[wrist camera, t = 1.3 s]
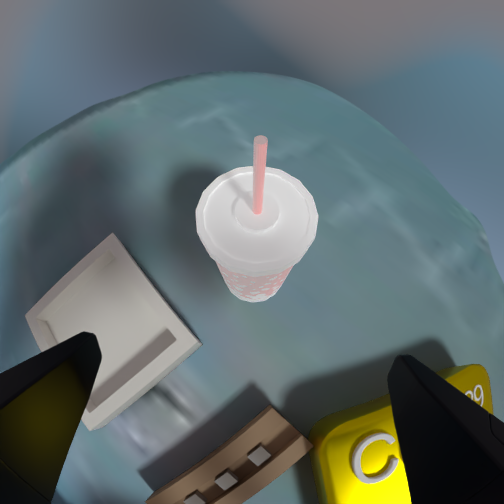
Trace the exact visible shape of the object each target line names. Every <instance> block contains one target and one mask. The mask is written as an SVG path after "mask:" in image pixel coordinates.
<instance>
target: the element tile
mask: <svg viewBox="0 0 504 504" xmlns="http://www.w3.org/2000/svg"><path fill="white" fill-rule="evenodd" d="M436 374H438V375H439V376H440V377H442V378H443V379H445V380H446V381H447V382H449V383H450V384H451V385H453V386H454V387H456V388H457V389H458V390H460V391H461V392H462V393H464V394H465V395H467V396H468V397H469V398H471V399H472V400H473V401H475V402H476V403H477V404H479V405H480V406H481V407H483V408H484V409H486V410H487V411H488V412H489V413H491V414H492V415H493V404H492V395H491V387H490V380H489V376H488V373H487V371H486V369H485V368H484V367H483V366H482V365H480V364H470V365H463V366H456V367H449V368H445V369H442V370H440V371H438V372H436ZM308 440H309V441H310V442H311V443H312V444H313V445H314V447H313V448H311V449H310V450H309V455H310V460H311V465H312V470H313V475H314V480H315V485H316V490H317V495H318V500H319V504H411V500H410V495H409V489H408V484H407V478H406V473H405V469H404V464H403V459H402V455H401V450H400V446H399V442H398V437H397V433H396V429H395V425H394V420H393V413H392V407H391V400H390V394H387V395H384V396H382V397H379V398H377V399H374V400H371V401H369V402H366V403H363V404H360V405H357V406H354V407H351V408H348V409H345V410H342V411H339V412H336V413H333V414H330V415H328V416H326V417H323V418H322V419H321V420H319V421H318V422H317V423H315V425H314V426H313V428H312V429H311V430H310V433H309V437H308Z"/></svg>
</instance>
